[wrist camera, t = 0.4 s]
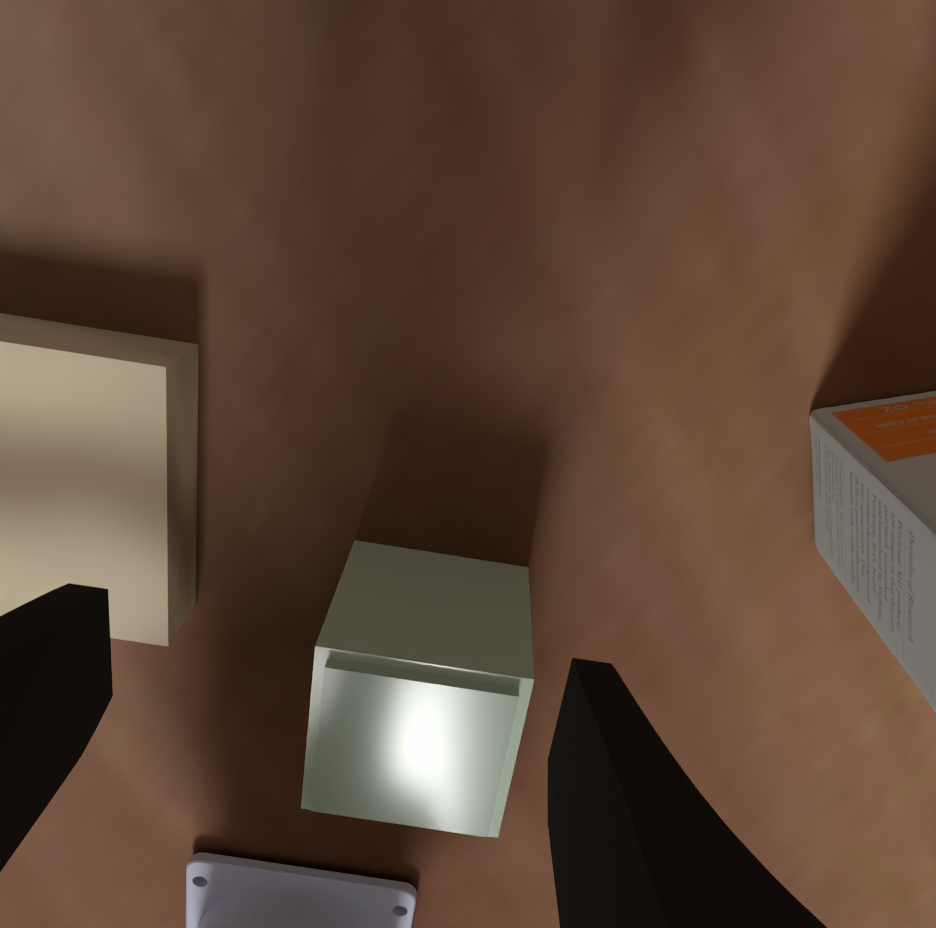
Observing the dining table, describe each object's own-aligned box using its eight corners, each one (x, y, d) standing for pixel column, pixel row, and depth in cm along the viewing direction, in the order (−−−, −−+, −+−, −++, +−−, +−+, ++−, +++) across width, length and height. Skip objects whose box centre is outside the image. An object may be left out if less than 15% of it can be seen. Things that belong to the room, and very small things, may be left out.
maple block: (201, 596, 23) (168, 646, 21) (-63, 555, 23) (-125, 602, 21) (204, 340, 20) (166, 367, 18) (-102, 292, 20) (-180, 312, 18)
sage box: (499, 702, 24) (497, 847, 19) (340, 679, 24) (297, 818, 19) (528, 565, 22) (534, 688, 17) (354, 538, 22) (311, 654, 17)
